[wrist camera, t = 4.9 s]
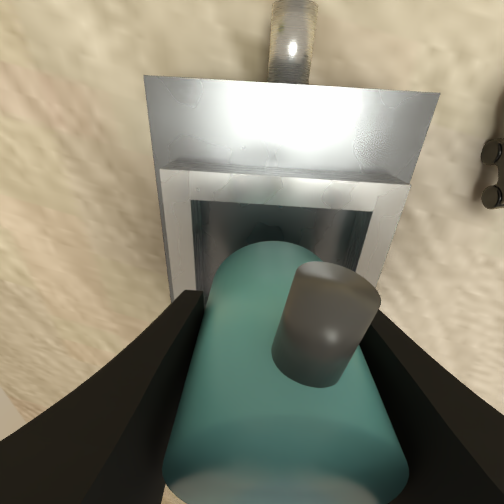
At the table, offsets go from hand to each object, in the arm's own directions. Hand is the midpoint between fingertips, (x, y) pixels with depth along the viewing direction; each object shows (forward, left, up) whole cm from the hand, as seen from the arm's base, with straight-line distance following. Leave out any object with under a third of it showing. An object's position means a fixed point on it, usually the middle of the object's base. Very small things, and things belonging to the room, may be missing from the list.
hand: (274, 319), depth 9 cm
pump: (0, 0, -2) cm, 2 cm away
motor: (+1, 0, -7) cm, 7 cm away
